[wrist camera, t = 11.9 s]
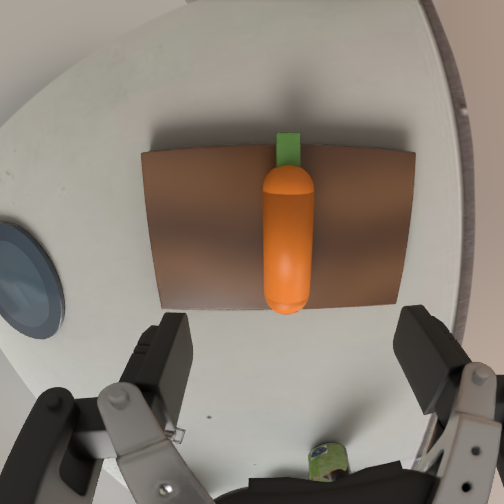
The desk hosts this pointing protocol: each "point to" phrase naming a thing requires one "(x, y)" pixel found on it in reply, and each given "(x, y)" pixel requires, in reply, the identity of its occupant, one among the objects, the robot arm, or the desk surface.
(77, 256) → the desk surface
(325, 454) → the beverage can
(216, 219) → the cutting board
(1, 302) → the slate plate
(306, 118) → the desk surface
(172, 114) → the desk surface
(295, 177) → the carrot
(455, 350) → the robot arm
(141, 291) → the desk surface
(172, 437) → the metal mounting bracket
